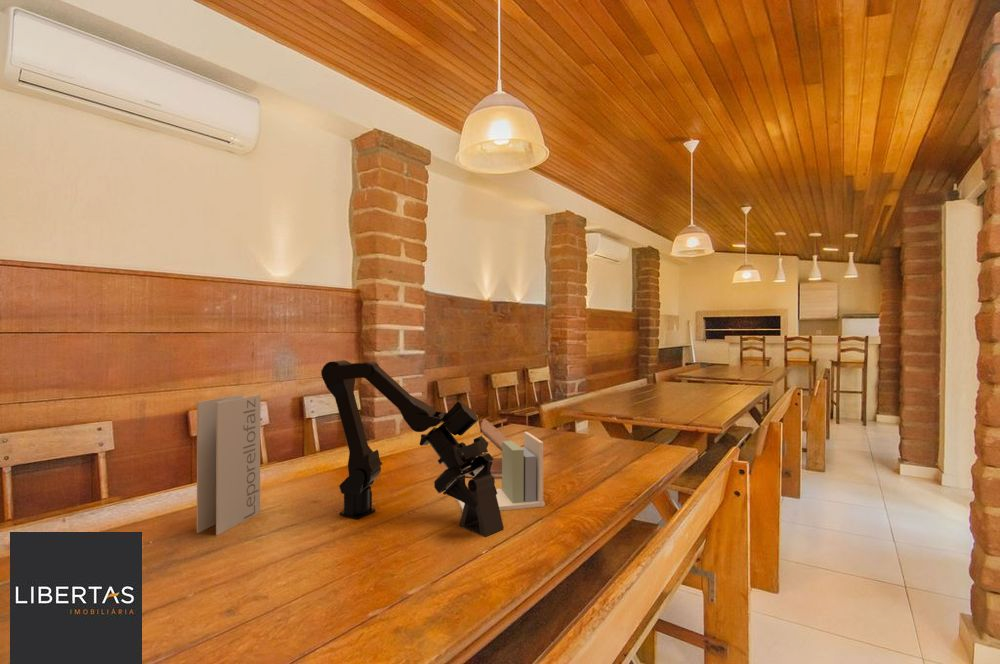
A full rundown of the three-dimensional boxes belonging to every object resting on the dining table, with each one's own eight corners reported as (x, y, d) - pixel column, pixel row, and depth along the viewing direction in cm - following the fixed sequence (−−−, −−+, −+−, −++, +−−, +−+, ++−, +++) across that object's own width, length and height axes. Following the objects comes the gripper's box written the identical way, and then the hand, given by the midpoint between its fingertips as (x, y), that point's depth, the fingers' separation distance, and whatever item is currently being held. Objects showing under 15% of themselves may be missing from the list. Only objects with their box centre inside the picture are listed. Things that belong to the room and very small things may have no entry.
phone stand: (503, 529, 114) (504, 478, 114) (485, 537, 109) (485, 484, 109) (477, 519, 120) (477, 470, 120) (459, 526, 116) (459, 475, 116)
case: (528, 479, 153) (529, 428, 153) (462, 478, 153) (462, 428, 153) (526, 462, 173) (526, 417, 173) (467, 462, 174) (468, 417, 174)
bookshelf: (463, 513, 123) (463, 447, 123) (454, 495, 137) (454, 435, 137) (544, 506, 129) (545, 442, 129) (528, 489, 142) (528, 431, 142)
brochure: (217, 535, 110) (217, 402, 110) (196, 533, 111) (196, 402, 111) (260, 512, 124) (260, 394, 124) (241, 510, 125) (241, 394, 125)
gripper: (445, 434, 108) (487, 491, 103) (486, 421, 125) (525, 470, 120) (416, 465, 112) (456, 521, 107) (461, 448, 129) (497, 496, 123)
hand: (486, 500), depth 114 cm, fingers open, 9 cm apart
